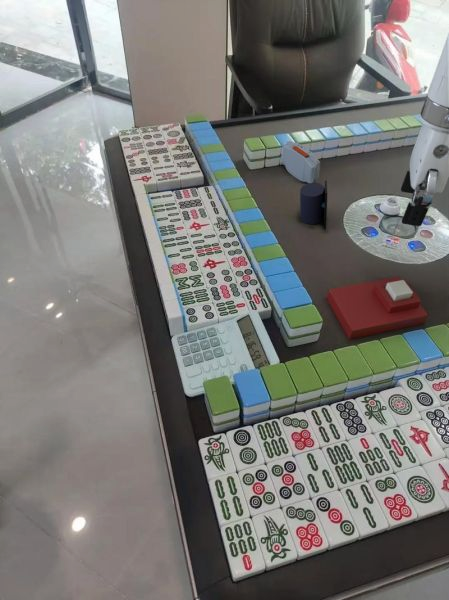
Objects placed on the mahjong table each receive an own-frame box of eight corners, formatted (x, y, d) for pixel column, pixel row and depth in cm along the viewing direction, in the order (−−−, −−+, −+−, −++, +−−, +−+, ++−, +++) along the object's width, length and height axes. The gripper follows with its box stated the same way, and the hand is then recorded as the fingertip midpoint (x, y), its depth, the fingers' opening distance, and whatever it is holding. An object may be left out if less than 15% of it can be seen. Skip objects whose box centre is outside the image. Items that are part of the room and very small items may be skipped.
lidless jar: (400, 216, 109) (397, 205, 112) (404, 207, 106) (401, 195, 110) (380, 215, 109) (377, 203, 112) (384, 205, 107) (381, 194, 110)
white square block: (400, 285, 87) (403, 279, 85) (410, 298, 84) (413, 292, 83) (384, 288, 86) (387, 282, 85) (393, 301, 84) (396, 295, 82)
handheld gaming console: (318, 186, 117) (323, 159, 112) (310, 189, 116) (315, 162, 110) (286, 162, 126) (289, 136, 120) (278, 165, 125) (280, 139, 119)
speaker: (333, 216, 108) (336, 180, 100) (325, 229, 105) (329, 193, 97) (304, 210, 111) (305, 174, 103) (296, 223, 108) (297, 187, 100)
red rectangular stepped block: (395, 285, 92) (401, 270, 89) (423, 323, 85) (431, 309, 82) (326, 298, 90) (330, 283, 86) (349, 339, 83) (354, 324, 79)
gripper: (484, 143, 57) (435, 241, 70) (468, 90, 68) (429, 184, 81) (425, 135, 58) (388, 234, 71) (419, 85, 70) (388, 178, 82)
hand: (410, 207), depth 76 cm, fingers open, 9 cm apart
